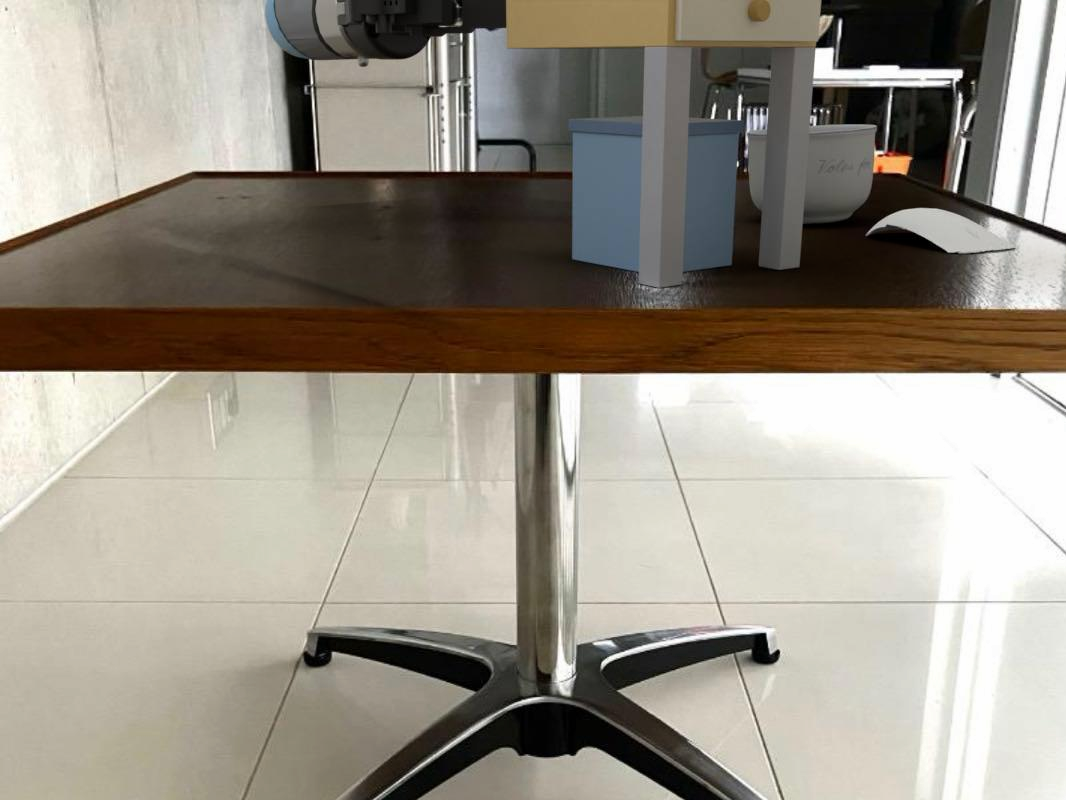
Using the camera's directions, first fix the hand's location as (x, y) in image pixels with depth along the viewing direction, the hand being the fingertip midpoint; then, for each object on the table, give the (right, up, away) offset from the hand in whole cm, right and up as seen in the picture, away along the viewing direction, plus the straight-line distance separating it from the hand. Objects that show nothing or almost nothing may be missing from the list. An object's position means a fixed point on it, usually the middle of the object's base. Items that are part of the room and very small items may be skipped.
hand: (523, 4), depth 90 cm
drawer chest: (+9, -20, -5) cm, 23 cm away
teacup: (+25, -11, +18) cm, 33 cm away
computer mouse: (+32, -17, +4) cm, 36 cm away
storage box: (+9, -20, -5) cm, 23 cm away
